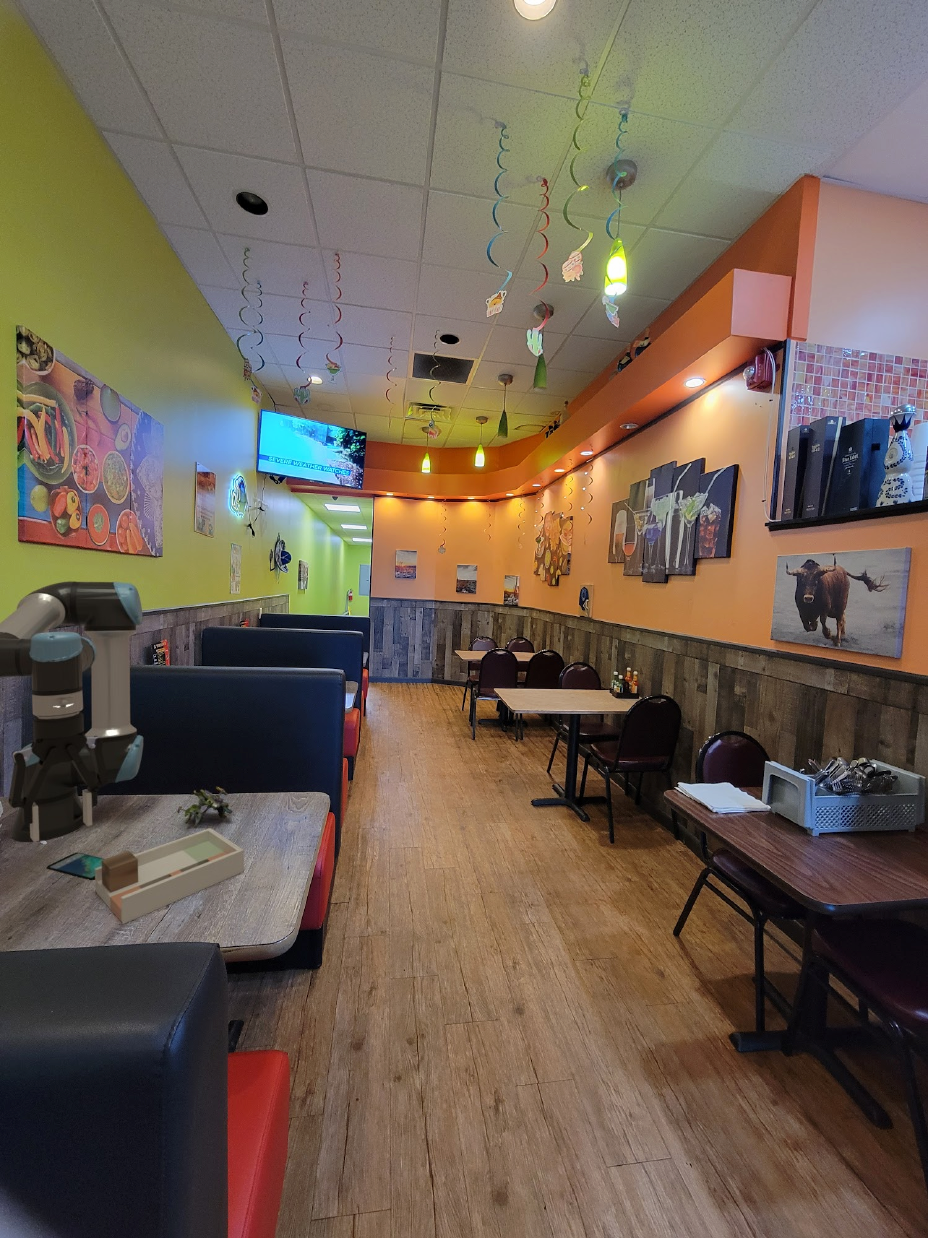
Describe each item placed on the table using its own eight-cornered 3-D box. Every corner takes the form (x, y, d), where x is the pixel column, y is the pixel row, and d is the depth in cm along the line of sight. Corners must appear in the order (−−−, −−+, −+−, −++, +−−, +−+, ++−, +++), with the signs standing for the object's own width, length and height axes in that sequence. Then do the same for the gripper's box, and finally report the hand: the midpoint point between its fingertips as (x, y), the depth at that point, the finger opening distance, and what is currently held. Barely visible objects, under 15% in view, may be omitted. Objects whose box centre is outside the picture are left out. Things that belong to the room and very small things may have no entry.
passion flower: (221, 836, 144) (244, 805, 142) (186, 847, 134) (210, 813, 132) (201, 806, 148) (223, 775, 146) (166, 814, 138) (189, 781, 136)
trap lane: (95, 891, 108) (94, 868, 108) (210, 847, 127) (210, 828, 127) (123, 924, 98) (122, 899, 98) (243, 871, 117) (243, 850, 117)
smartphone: (76, 851, 123) (123, 862, 119) (76, 854, 123) (123, 866, 119) (44, 867, 117) (93, 879, 112) (44, 870, 117) (93, 882, 112)
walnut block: (102, 883, 107) (101, 860, 107) (129, 873, 111) (128, 850, 111) (110, 893, 104) (109, 869, 104) (138, 882, 108) (137, 859, 108)
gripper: (-10, 728, 87) (-5, 859, 89) (127, 708, 103) (129, 818, 105) (-19, 720, 92) (-14, 844, 94) (113, 702, 108) (116, 808, 109)
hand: (62, 830), depth 99 cm, fingers open, 8 cm apart
